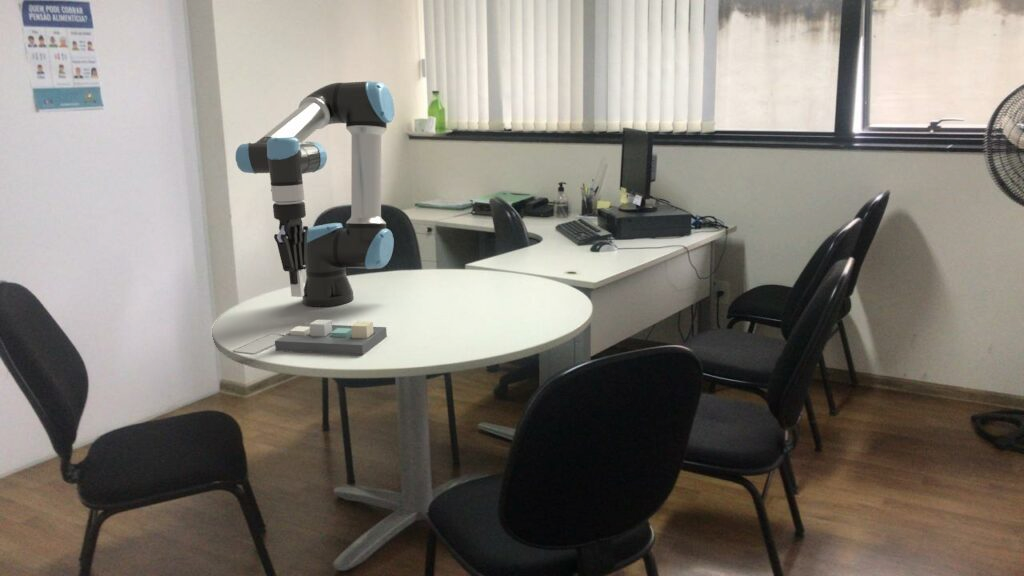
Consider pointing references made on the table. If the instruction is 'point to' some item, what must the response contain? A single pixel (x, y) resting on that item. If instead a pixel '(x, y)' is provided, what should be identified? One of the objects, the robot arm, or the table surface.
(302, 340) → the keypad
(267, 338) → the smartphone
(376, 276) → the table surface
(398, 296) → the table surface
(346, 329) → the key
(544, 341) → the table surface
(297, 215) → the robot arm
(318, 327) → the key
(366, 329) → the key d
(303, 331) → the key
